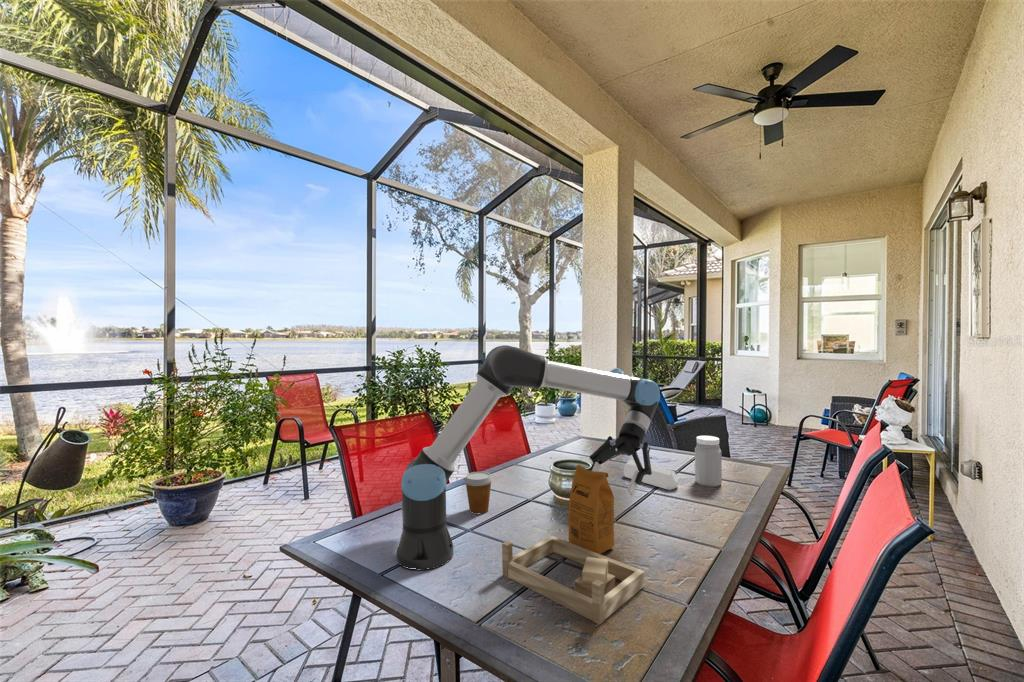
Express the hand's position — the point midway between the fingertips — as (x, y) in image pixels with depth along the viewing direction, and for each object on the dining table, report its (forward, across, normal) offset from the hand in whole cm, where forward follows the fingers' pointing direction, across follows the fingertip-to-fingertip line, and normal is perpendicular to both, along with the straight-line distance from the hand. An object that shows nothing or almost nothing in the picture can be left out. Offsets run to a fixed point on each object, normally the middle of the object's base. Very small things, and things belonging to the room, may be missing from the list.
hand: (609, 487), depth 134 cm
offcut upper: (+27, -13, +11) cm, 32 cm away
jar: (-36, -4, -56) cm, 66 cm away
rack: (+29, -7, +10) cm, 32 cm away
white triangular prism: (-26, +14, -47) cm, 55 cm away
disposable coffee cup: (+20, +43, 0) cm, 47 cm away
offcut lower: (+29, -13, +9) cm, 33 cm away
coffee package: (+17, 0, -3) cm, 17 cm away
